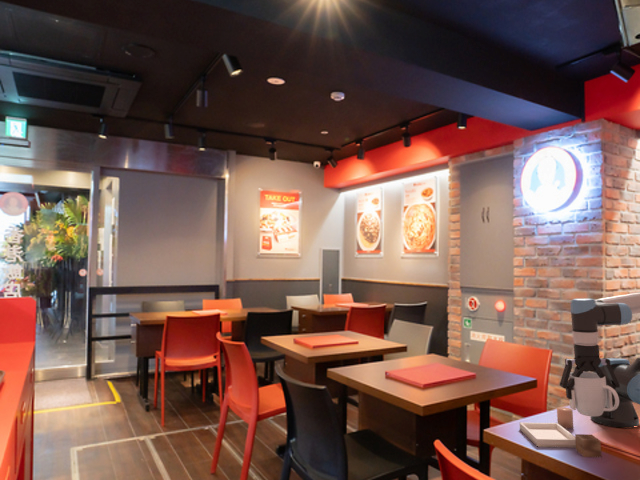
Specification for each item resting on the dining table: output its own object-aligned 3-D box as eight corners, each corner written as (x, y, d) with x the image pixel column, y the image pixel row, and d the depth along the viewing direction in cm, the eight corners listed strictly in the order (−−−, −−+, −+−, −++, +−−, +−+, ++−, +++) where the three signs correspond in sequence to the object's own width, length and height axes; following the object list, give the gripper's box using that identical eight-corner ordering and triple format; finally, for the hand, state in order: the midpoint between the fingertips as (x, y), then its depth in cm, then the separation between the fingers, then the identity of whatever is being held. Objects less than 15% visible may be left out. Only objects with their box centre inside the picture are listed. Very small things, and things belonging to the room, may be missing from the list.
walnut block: (592, 450, 139) (591, 434, 140) (601, 457, 134) (600, 440, 135) (576, 450, 140) (575, 434, 140) (583, 457, 135) (582, 440, 135)
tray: (557, 430, 157) (557, 423, 158) (579, 447, 142) (579, 440, 142) (519, 429, 159) (519, 422, 159) (537, 446, 143) (536, 439, 143)
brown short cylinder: (569, 423, 164) (568, 407, 164) (576, 428, 159) (575, 411, 159) (555, 423, 164) (554, 407, 165) (561, 428, 159) (560, 411, 160)
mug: (628, 416, 148) (624, 376, 149) (612, 424, 142) (608, 382, 143) (581, 406, 160) (578, 369, 161) (565, 413, 154) (562, 375, 155)
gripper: (615, 341, 156) (621, 404, 154) (545, 342, 158) (550, 405, 157) (628, 344, 149) (634, 411, 147) (554, 346, 151) (559, 412, 149)
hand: (591, 408), depth 152 cm, fingers closed on mug, 11 cm apart
